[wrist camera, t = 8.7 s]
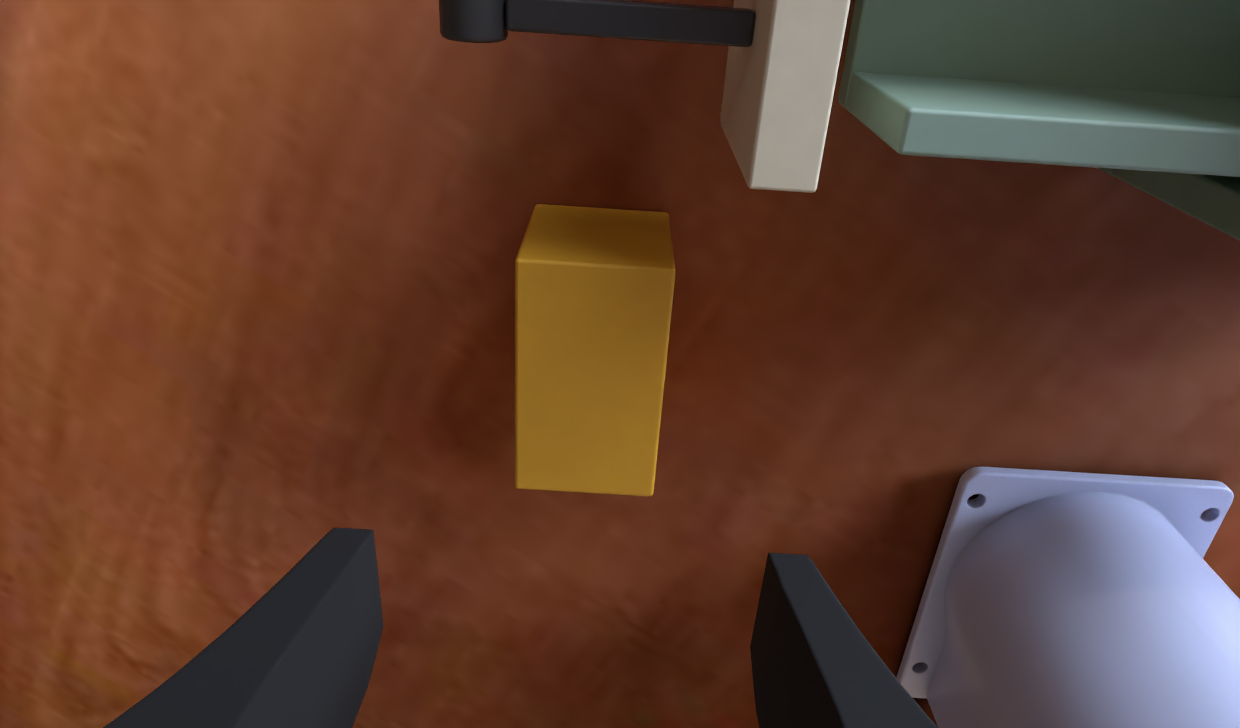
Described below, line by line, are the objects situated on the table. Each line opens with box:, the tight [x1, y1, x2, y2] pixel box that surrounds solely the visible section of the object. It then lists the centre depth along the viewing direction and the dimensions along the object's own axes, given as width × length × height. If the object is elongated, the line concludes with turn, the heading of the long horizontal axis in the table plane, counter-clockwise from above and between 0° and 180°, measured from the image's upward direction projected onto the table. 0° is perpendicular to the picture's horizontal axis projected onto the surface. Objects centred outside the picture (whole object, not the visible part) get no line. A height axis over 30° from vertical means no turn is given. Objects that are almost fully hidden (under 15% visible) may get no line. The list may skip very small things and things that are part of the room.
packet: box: [515, 204, 676, 497], centre depth 20 cm, size 6×3×4 cm, turn 176°
